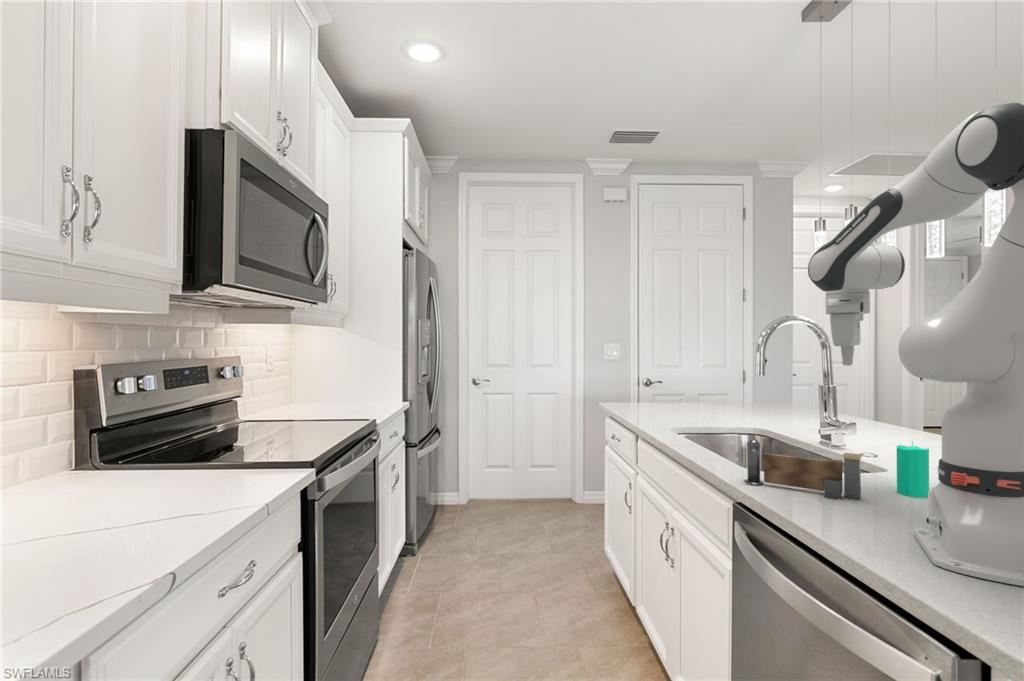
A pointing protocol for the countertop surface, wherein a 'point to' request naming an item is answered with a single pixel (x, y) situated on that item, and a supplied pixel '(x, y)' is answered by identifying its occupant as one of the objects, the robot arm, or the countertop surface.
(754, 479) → the hinge post
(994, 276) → the robot arm
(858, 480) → the latch post
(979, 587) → the countertop surface
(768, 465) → the gate
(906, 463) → the candle
